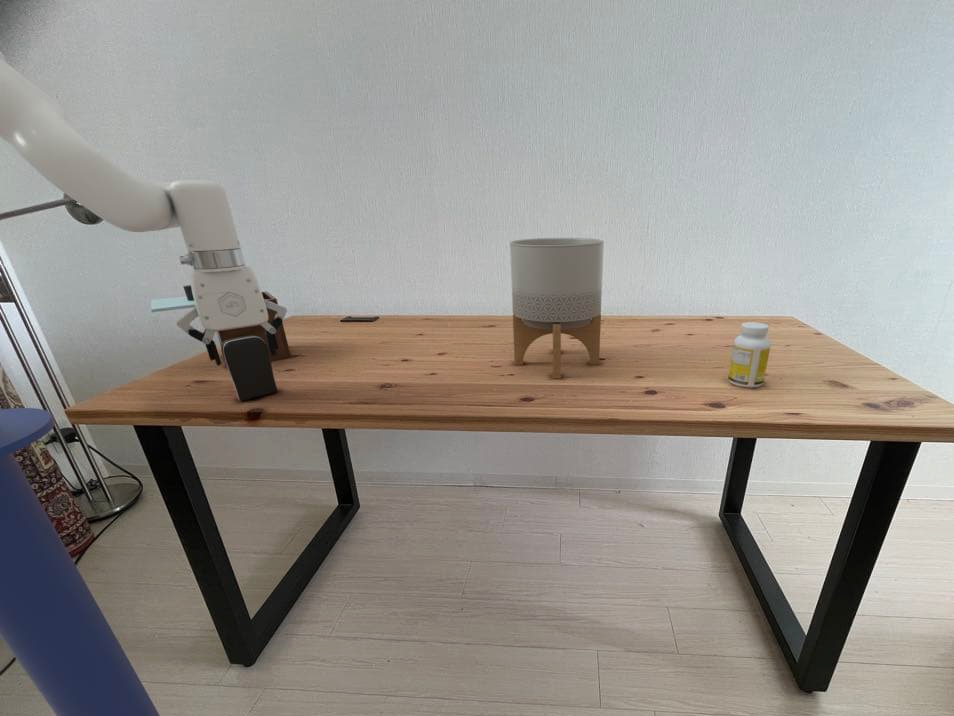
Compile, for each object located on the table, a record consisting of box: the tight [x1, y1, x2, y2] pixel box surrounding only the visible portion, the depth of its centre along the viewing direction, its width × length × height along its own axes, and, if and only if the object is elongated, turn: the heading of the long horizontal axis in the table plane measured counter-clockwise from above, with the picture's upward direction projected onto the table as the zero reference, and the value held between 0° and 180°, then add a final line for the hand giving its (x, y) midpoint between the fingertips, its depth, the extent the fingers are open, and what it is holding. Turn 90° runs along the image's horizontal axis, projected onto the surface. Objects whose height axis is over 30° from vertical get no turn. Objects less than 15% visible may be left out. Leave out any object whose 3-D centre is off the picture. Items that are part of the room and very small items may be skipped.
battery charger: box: [220, 335, 279, 402], centre depth 85 cm, size 7×4×11 cm, turn 135°
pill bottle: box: [727, 321, 772, 389], centre depth 88 cm, size 6×6×12 cm
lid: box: [150, 284, 196, 313], centre depth 98 cm, size 13×13×4 cm
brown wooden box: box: [215, 290, 292, 362], centre depth 107 cm, size 13×13×14 cm
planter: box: [509, 237, 605, 379], centre depth 97 cm, size 19×19×26 cm
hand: (246, 357), depth 85 cm, fingers open, 8 cm apart
